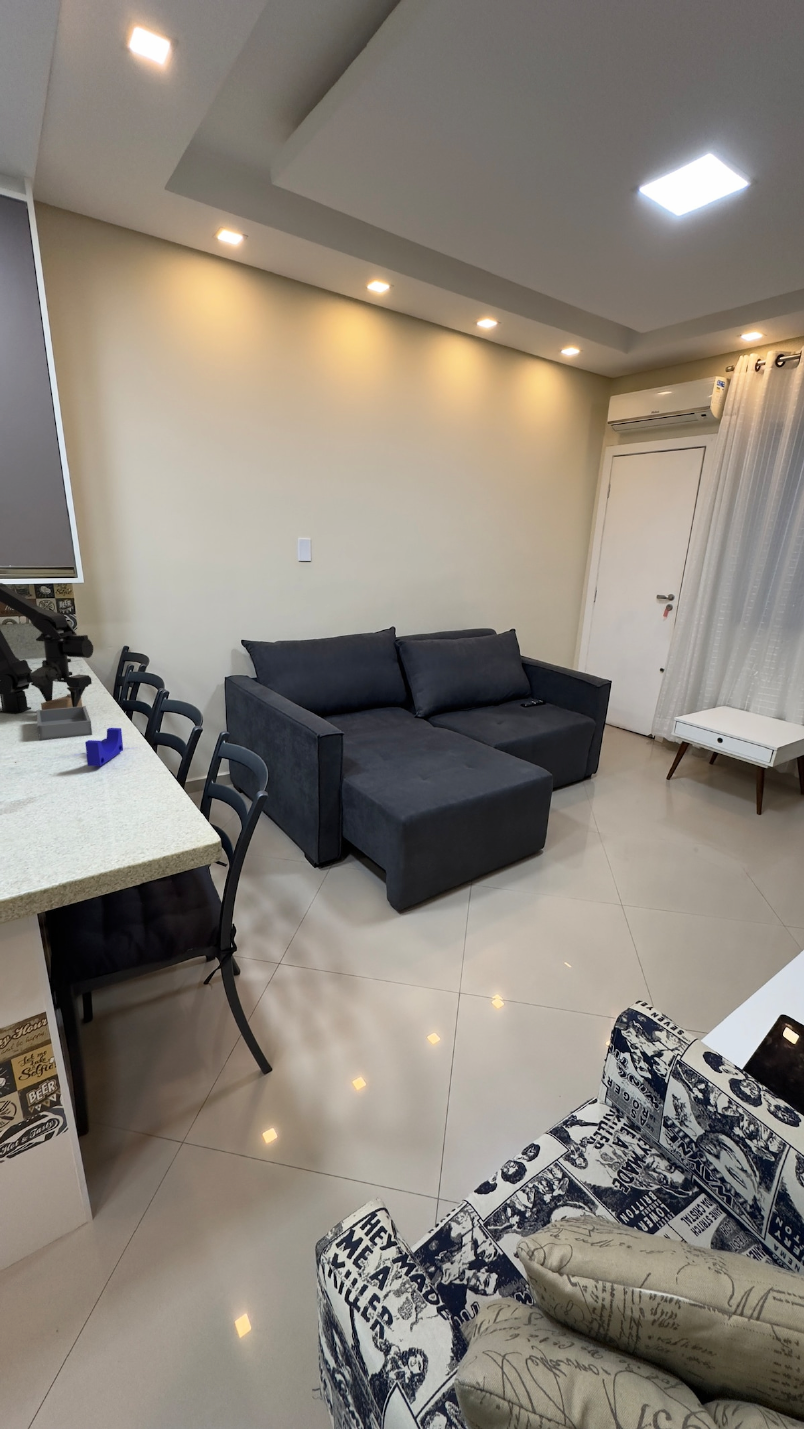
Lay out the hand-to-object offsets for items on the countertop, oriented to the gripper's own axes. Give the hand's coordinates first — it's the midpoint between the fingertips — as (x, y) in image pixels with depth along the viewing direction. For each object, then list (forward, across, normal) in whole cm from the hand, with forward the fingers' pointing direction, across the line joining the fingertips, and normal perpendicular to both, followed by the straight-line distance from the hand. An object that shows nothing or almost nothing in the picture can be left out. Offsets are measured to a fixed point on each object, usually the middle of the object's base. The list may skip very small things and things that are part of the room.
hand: (62, 706), depth 181 cm
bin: (+3, +12, -12) cm, 17 cm away
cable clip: (+3, +38, -28) cm, 47 cm away
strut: (+3, 0, 0) cm, 3 cm away
